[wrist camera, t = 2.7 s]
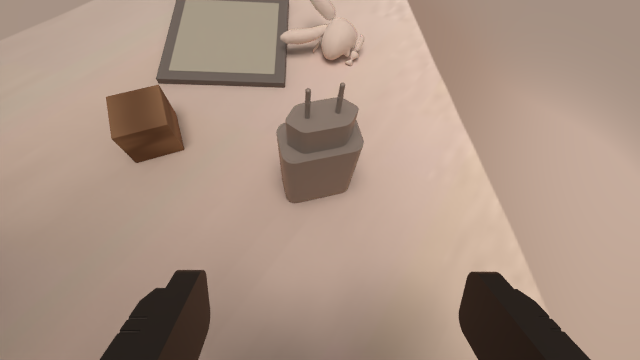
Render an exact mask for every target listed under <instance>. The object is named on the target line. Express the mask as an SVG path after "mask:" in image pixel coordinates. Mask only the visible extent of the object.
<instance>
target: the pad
mask: <svg viewBox="0 0 640 360" xmlns="http://www.w3.org/2000/svg"><path fill="white" fill-rule="evenodd" d="M288 6H289V0H176V4H175V8H174V12H173V15H172V19H171V23H170V27H169V31H168V35H167V39H166V42H165V46H164V50H163V54H162V58H161V62H160V66H159V69H158V73H157V77H156V79H157V81H158V83H171V84H202V85H232V86H262V87H285V68H286V48H287V43H285V42H283V41H282V40H280V36H281V35H282V34H283V33H284V32H286V31H287V27H288Z"/></svg>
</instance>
